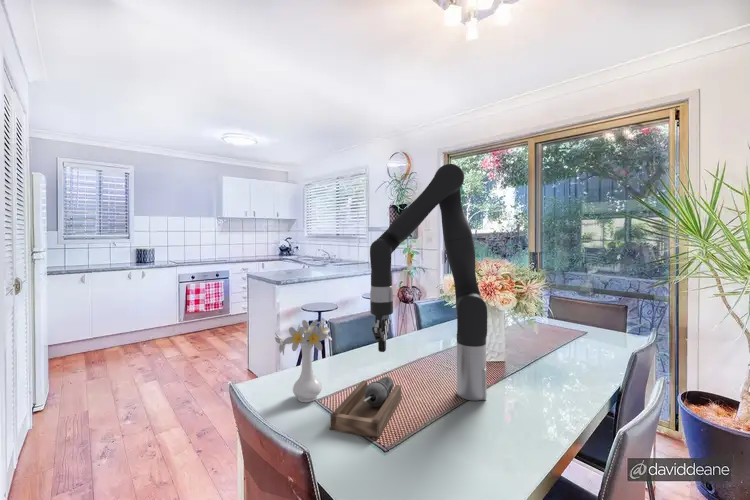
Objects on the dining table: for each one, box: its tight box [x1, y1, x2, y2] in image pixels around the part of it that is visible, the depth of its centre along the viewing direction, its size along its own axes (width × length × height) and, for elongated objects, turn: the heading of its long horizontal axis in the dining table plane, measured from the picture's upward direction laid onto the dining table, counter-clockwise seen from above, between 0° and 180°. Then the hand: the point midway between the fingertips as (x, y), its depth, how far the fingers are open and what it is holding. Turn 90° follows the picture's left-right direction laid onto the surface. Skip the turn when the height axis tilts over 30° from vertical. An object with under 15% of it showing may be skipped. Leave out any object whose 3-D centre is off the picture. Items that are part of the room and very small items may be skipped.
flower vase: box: [274, 319, 333, 403], centre depth 111 cm, size 13×18×25 cm
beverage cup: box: [363, 376, 395, 407], centre depth 106 cm, size 7×7×20 cm
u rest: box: [329, 380, 403, 440], centre depth 102 cm, size 14×24×4 cm, turn 161°
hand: (382, 351), depth 115 cm, fingers closed
